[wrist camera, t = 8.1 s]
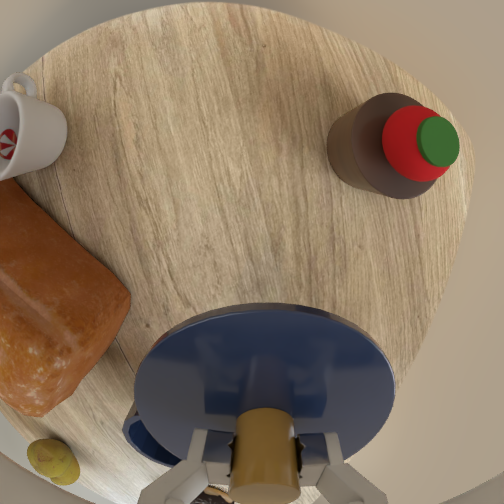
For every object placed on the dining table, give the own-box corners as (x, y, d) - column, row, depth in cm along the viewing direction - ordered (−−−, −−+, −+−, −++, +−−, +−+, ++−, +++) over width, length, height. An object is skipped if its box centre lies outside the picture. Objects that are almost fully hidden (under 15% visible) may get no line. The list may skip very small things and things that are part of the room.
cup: (23, 97, 21) (-25, 90, 13) (73, 65, 20) (24, 46, 12) (31, 183, 24) (-21, 193, 16) (82, 160, 23) (26, 163, 15)
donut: (188, 476, 37) (184, 493, 33) (246, 494, 38) (245, 511, 35) (166, 490, 40) (162, 505, 36) (218, 507, 41) (216, 521, 37)
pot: (226, 373, 29) (218, 424, 22) (227, 429, 32) (221, 475, 25) (137, 361, 29) (111, 405, 22) (151, 418, 32) (135, 459, 25)
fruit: (42, 418, 36) (19, 451, 26) (91, 453, 38) (73, 489, 28) (39, 436, 39) (21, 464, 29) (83, 466, 41) (68, 497, 31)
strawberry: (429, 119, 15) (471, 111, 10) (427, 183, 16) (469, 191, 12) (371, 105, 15) (404, 88, 10) (369, 174, 16) (402, 177, 12)
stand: (401, 118, 21) (444, 106, 14) (397, 194, 23) (439, 205, 16) (327, 104, 21) (352, 82, 14) (324, 185, 23) (347, 192, 16)
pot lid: (417, 296, 10) (486, 368, 5) (351, 460, 13) (364, 523, 8) (123, 282, 10) (50, 354, 5) (162, 453, 13) (143, 516, 8)
